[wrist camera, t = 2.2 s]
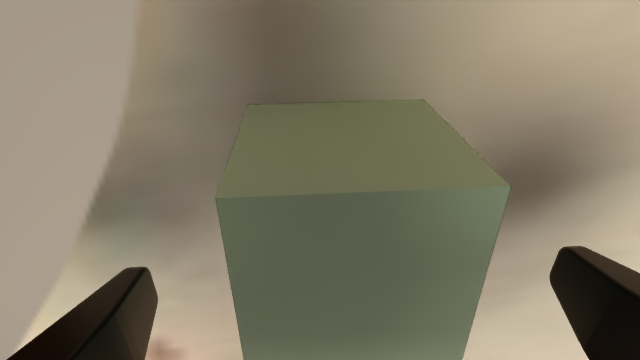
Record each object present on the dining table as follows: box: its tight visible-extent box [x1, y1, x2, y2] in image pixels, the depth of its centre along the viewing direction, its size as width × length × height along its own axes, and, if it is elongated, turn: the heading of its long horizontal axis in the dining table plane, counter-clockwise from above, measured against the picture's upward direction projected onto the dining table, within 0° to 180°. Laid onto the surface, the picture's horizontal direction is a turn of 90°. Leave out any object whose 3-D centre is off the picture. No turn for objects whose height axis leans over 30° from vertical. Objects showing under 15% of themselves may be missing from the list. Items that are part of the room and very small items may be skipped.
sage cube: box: [215, 100, 511, 360], centre depth 10 cm, size 5×5×5 cm
